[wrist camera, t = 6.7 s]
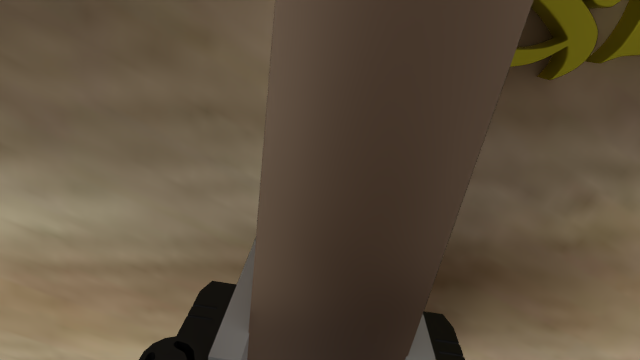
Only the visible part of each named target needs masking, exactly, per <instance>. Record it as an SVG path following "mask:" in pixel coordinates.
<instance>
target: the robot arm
mask: <svg viewBox="0 0 640 360" xmlns="http://www.w3.org/2000/svg"><path fill="white" fill-rule="evenodd" d="M255 245H256V238H255V241H254V243H253V246H252V248H251V251H250V253H249V256H248V258H247V261H246V263H245V266H244V268H243V271H242V273H241V276H240V278H239V281H238V283H237V285H236V284H229V283H223V282H216V281H212V282H210V283H209V284H208V285H207V286H206V287H204V288H203V289H202V290H201V291H200V292H199V294H198V296H197V298H196V300H195V302H194V304H193V307H192V308H191V310H190V311H189V313H188V316H187V317H186V319H185V321H184V323H183V325H182V327H181V329H180V330H179V332H178V334H177V336H176V337H170V338H164V339H162V340H160V341H158V342H156V343H154V344H152V345H151V346H150V347H149V348H148V349H146V350H145V351H144V352H143V354H142V355H141V357H140V359H139V360H247V356H248V343H249V333H248V332H249V319H250V307H251V295H252V282H253V270H254V257H255ZM405 360H465V358H464V357H463V353H462V350H461V347H460V345H459V342H458V339H457V336H456V333H455V331H454V328H453V327H452V325H451V324H450V323H449V322H448V320H447V319H446V318H445V317H444V315H443V314H437V313H431V312H423V315H422V317H421V320H420V323H419V326H418V329H417V332H416V334H415V337H414V340H413V343H412V346H411V349H410V351H409V354H408V356H406V359H405Z"/></svg>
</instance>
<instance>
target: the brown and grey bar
mask: <svg viewBox="0 0 640 360" xmlns="http://www.w3.org/2000/svg"><path fill="white" fill-rule="evenodd" d="M532 3H533V0H275V9H274V22H273V34H272V47H271V59H270V71H269V84H268V96H267V109H266V121H265V133H264V146H263V158H262V171H261V183H260V195H259V208H258V220H257V233H256V245H255V257H254V270H253V282H252V295H251V307H250V319H249V332H248V333H249V343H248V356H247V360H405V359H406V356H408V354H409V351H410V349H411V346H412V343H413V340H414V337H415V334H416V332H417V329H418V326H419V323H420V320H421V317H422V315H423V312H424V309H425V306H426V303H427V300H428V298H429V295H430V292H431V289H432V286H433V283H434V281H435V278H436V275H437V272H438V269H439V266H440V264H441V261H442V258H443V255H444V252H445V249H446V247H447V244H448V241H449V238H450V235H451V232H452V230H453V227H454V224H455V221H456V218H457V215H458V213H459V210H460V207H461V204H462V201H463V198H464V196H465V193H466V190H467V187H468V184H469V181H470V179H471V176H472V173H473V170H474V167H475V164H476V162H477V159H478V156H479V153H480V150H481V147H482V145H483V142H484V139H485V136H486V133H487V130H488V128H489V125H490V122H491V119H492V116H493V113H494V111H495V108H496V105H497V102H498V99H499V96H500V94H501V91H502V88H503V85H504V82H505V79H506V77H507V74H508V71H509V68H510V65H511V62H512V60H513V57H514V54H515V51H516V48H517V46H518V43H519V40H520V37H521V34H522V31H523V29H524V26H525V23H526V20H527V17H528V14H529V12H530V9H531V6H532Z"/></svg>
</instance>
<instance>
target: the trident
mask: <svg viewBox="0 0 640 360" xmlns="http://www.w3.org/2000/svg"><path fill="white" fill-rule="evenodd" d="M620 1H621V0H533V3H532V6H531V8H532V9H533V10H534V11H535V12H536V13H537V15H538V16H539V17H540V18H541V19H542V21H543V22H544V24H545V25H546V27H547V28H548V30H549V32H550V33H551V35H552V39H550V40H548V41H545V42H543V43H540V44H536V45H532V46H526V47H517V48H516V51H515V54H514V57H513V60H512V62H511V65H510V67H514V66H522V65H527V64H531V63H534V62H537V61H540V60H542V59H544V58H546V57H549V56H550V55H552V56H551V59H550V61H549V63H548V64H547V66H546V67H545V68H544V69H543V71H542V72H541V73H540V74H539V75H538V76H537V77H540V78H544V79H548V80H552V79H555V78H558V77H560V76H563V75H565V74H567V73H569V72H571V71H572V70H574V69H575V68H577V67H578V66H580V65H581V64H582V63H583V62H584V61H587V62H593V63H603V62H606V61H608V60H611V59H614V58H618V57H622V56H634V55H640V0H629V2H628V4H627V7H626V9H625V11H624V13H623V15H622V17H621V19H620V21H619V22H618V24H617V26H616V27H615V29H614V30H613V32H612V33H611V35H610V36H609V37H608V39H607V40H606V41H605V42H604V43H603V45H602V46H601V47H600V48H599V49H598V50H597V51H595V52H594V53H593V54H592V55H591V56H590V54H591V53H592V51H593V49H594V47H595V44H596V41H597V37H598V29H597V26H596V23H595V20H594V18H593V16H592V14H591V13H590V11H589V9H588V8H608V7H612V6H614V5H615V4H617V3H618V2H620Z"/></svg>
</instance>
